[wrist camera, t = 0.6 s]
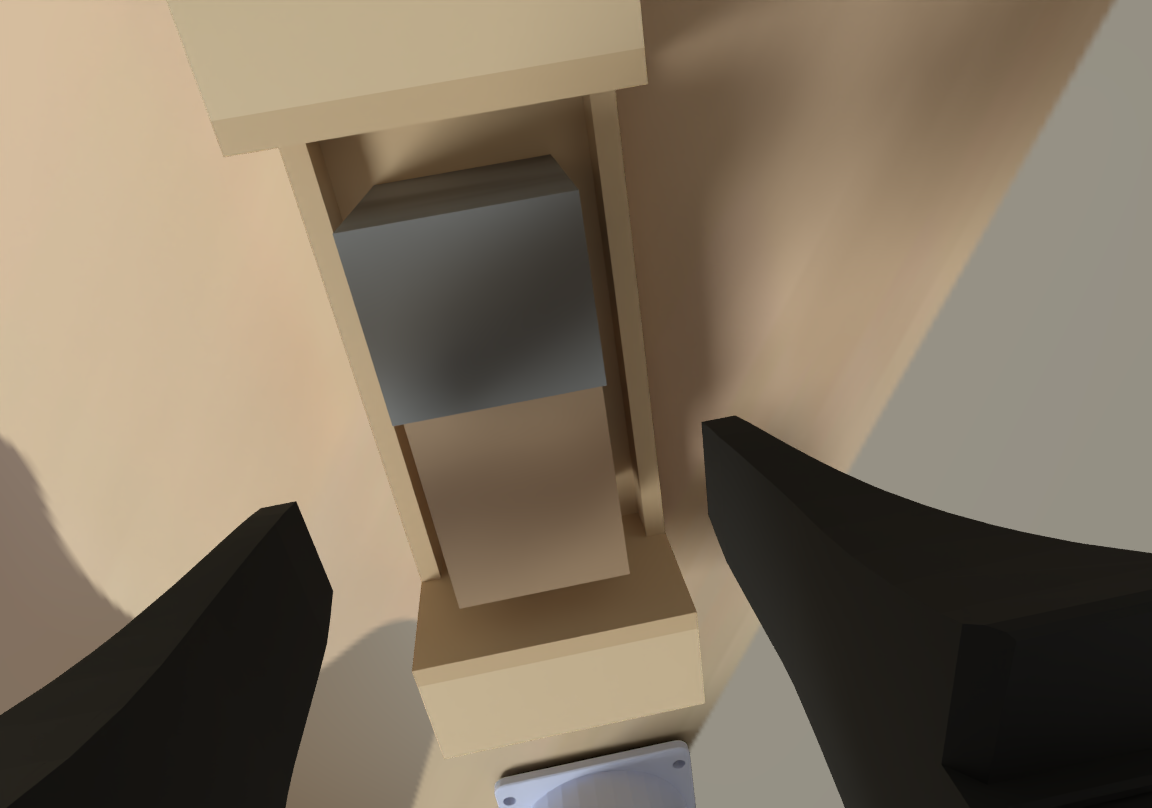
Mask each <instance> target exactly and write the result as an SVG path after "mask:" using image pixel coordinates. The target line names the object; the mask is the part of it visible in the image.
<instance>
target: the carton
mask: <svg viewBox="0 0 1152 808" xmlns="http://www.w3.org/2000/svg"><path fill="white" fill-rule="evenodd" d="M166 1H167V4H168V7H169V9H170V12H171V15H172V18H173V20H174V23H175V26H176V29H177V31H178V34H179V37H180V40H181V42H182V45H183V48H184V50H185V53H186V56H187V59H188V61H189V64H190V67H191V70H192V72H193V75H194V78H195V80H196V83H197V86H198V89H199V91H200V94H201V97H202V100H203V102H204V105H205V108H206V110H207V113H208V116H209V119H210V121H211V124H212V127H213V130H214V132H215V135H216V138H217V141H218V143H219V146H220V149H221V151H222V154H223V157H229V156H234V155H240V154H246V153H252V152H258V151H263V150H269V149H275V148H279V150H280V153H281V156H282V160H283V163H284V166H285V169H286V172H287V175H288V178H289V181H290V184H291V187H292V190H293V193H294V196H295V199H296V202H297V205H298V208H299V211H300V214H301V217H302V220H303V223H304V226H305V229H306V232H307V235H308V238H309V241H310V244H311V248H312V251H313V254H314V257H315V260H316V263H317V266H318V269H319V272H320V275H321V278H322V281H323V284H324V287H325V290H326V293H327V296H328V299H329V302H330V305H331V308H332V311H333V314H334V317H335V320H336V323H337V326H338V329H339V333H340V336H341V339H342V342H343V345H344V348H345V351H346V354H347V357H348V360H349V363H350V366H351V369H352V372H353V375H354V378H355V381H356V384H357V387H358V390H359V393H360V396H361V399H362V402H363V405H364V408H365V411H366V414H367V418H368V421H369V424H370V427H371V430H372V433H373V436H374V439H375V442H376V445H377V448H378V451H379V454H380V457H381V460H382V463H383V466H384V469H385V472H386V475H387V478H388V481H389V484H390V487H391V490H392V493H393V496H394V499H395V503H396V506H397V509H398V512H399V515H400V518H401V521H402V524H403V527H404V530H405V533H406V536H407V539H408V542H409V545H410V548H411V551H412V554H413V557H414V560H415V563H416V566H417V569H418V572H419V575H420V578H421V581H422V585H421V594H420V603H419V612H418V621H417V631H416V641H415V649H414V658H413V668H412V672H413V675H414V678H415V681H416V684H417V686H418V689H419V692H420V695H421V697H422V700H423V703H424V706H425V708H426V711H427V713H428V716H429V719H430V722H431V725H432V727H433V730H434V733H435V736H436V738H437V741H438V744H439V746H440V749H441V752H442V755H443V757H444V759H448V758H453V757H458V756H462V755H467V754H471V753H476V752H481V751H485V750H490V749H495V748H499V747H504V746H509V745H513V744H518V743H523V742H527V741H532V740H537V739H541V738H546V737H551V736H555V735H560V734H565V733H569V732H574V731H579V730H583V729H588V728H593V727H597V726H602V725H607V724H611V723H616V722H621V721H625V720H630V719H635V718H639V717H644V716H649V715H653V714H658V713H663V712H667V711H672V710H677V709H681V708H686V707H691V706H695V705H700V704H705V697H704V686H703V675H702V664H701V653H700V642H699V632H698V621H697V612H696V609H695V607H694V604H693V602H692V599H691V597H690V594H689V592H688V589H687V586H686V584H685V581H684V579H683V576H682V574H681V571H680V569H679V566H678V564H677V561H676V559H675V556H674V554H673V551H672V549H671V546H670V544H669V541H668V539H667V536H666V534H665V526H664V517H663V508H662V499H661V491H660V482H659V473H658V464H657V455H656V446H655V437H654V428H653V419H652V411H651V402H650V393H649V384H648V375H647V366H646V357H645V348H644V340H643V331H642V322H641V313H640V304H639V295H638V286H637V277H636V269H635V260H634V251H633V242H632V233H631V224H630V215H629V206H628V197H627V189H626V180H625V171H624V162H623V153H622V144H621V135H620V126H619V118H618V109H617V100H616V91H615V90H618V89H623V88H629V87H635V86H641V85H647V84H648V80H647V69H646V59H645V48H644V37H643V26H642V15H641V5H640V0H166ZM549 154H551V155H552V156H553V158H554V159H555V160H556V162H557V163H558V164H559V165H560V167H561V168H562V169H563V170H564V172H565V173H566V174H567V176H568V177H569V178H570V179H571V181H572V182H573V183H574V184H575V186H576V187H577V188H578V190H579V195H580V202H581V209H582V216H583V223H584V230H585V237H586V244H587V251H588V258H589V265H590V271H591V278H592V285H593V292H594V299H595V306H596V313H597V320H598V327H599V334H600V341H601V348H602V355H603V362H604V369H605V376H606V383H607V385H606V386H602V388H603V394H604V401H605V408H606V415H607V422H608V428H609V435H610V442H611V449H612V456H613V462H614V469H615V476H616V483H617V490H618V496H619V503H620V510H621V517H622V524H623V530H624V537H625V544H626V551H627V558H628V564H629V571H630V574H627V575H622V576H617V577H612V578H608V579H603V580H598V581H593V582H588V583H583V584H578V585H573V586H569V587H564V588H559V589H554V590H549V591H544V592H539V593H534V594H529V595H525V596H520V597H515V598H510V599H505V600H500V601H495V602H490V603H485V604H481V605H476V606H471V607H466V608H461V609H459V605H458V602H457V599H456V595H455V592H454V589H453V586H452V582H451V579H450V576H449V572H448V569H447V566H446V563H445V559H444V556H443V553H442V549H441V546H440V543H439V539H438V536H437V533H436V530H435V526H434V523H433V520H432V516H431V513H430V510H429V507H428V503H427V500H426V497H425V493H424V490H423V487H422V483H421V480H420V477H419V474H418V470H417V467H416V464H415V460H414V457H413V454H412V451H411V447H410V444H409V441H408V437H407V434H406V431H405V427H404V424H403V425H398V426H392V423H391V420H390V417H389V413H388V410H387V407H386V404H385V401H384V397H383V394H382V391H381V388H380V385H379V381H378V378H377V375H376V372H375V369H374V365H373V362H372V359H371V356H370V353H369V349H368V346H367V343H366V340H365V337H364V333H363V330H362V327H361V324H360V321H359V317H358V314H357V311H356V308H355V305H354V301H353V298H352V295H351V292H350V289H349V285H348V282H347V279H346V276H345V273H344V269H343V266H342V263H341V260H340V257H339V253H338V250H337V247H336V244H335V241H334V237H333V233H334V231H335V230H336V229H337V228H338V227H339V226H340V224H341V223H342V222H343V221H344V220H345V219H346V217H347V216H348V215H349V214H350V213H351V211H352V210H353V209H354V208H355V207H356V206H357V204H358V203H359V202H360V201H361V200H362V199H363V197H364V196H365V195H366V194H367V193H368V192H369V190H370V189H371V188H372V187H373V186H374V185H378V184H384V183H390V182H395V181H401V180H407V179H412V178H418V177H424V176H429V175H435V174H441V173H447V172H452V171H458V170H464V169H469V168H475V167H481V166H486V165H492V164H498V163H503V162H509V161H515V160H520V159H526V158H532V157H538V156H543V155H549Z"/></svg>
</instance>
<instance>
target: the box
mask: <svg viewBox="0 0 1152 808" xmlns="http://www.w3.org/2000/svg"><path fill="white" fill-rule="evenodd" d="M333 237H334V241H335V244H336V247H337V250H338V253H339V257H340V260H341V263H342V266H343V269H344V273H345V276H346V279H347V282H348V285H349V289H350V292H351V295H352V298H353V301H354V305H355V308H356V311H357V314H358V317H359V321H360V324H361V327H362V330H363V333H364V337H365V340H366V343H367V346H368V349H369V353H370V356H371V359H372V362H373V365H374V369H375V372H376V375H377V378H378V381H379V385H380V388H381V391H382V394H383V397H384V401H385V404H386V407H387V410H388V413H389V417H390V420H391V423H392V426H398V425H403V424H404V427H405V431H406V434H407V437H408V441H409V444H410V447H411V451H412V454H413V457H414V460H415V464H416V467H417V470H418V474H419V477H420V480H421V483H422V487H423V490H424V493H425V497H426V500H427V503H428V507H429V510H430V513H431V516H432V520H433V523H434V526H435V530H436V533H437V536H438V539H439V543H440V546H441V549H442V553H443V556H444V559H445V563H446V566H447V569H448V572H449V576H450V579H451V582H452V586H453V589H454V592H455V595H456V599H457V602H458V605H459V609H461V608H466V607H471V606H476V605H481V604H485V603H490V602H495V601H500V600H505V599H510V598H515V597H520V596H525V595H529V594H534V593H539V592H544V591H549V590H554V589H559V588H564V587H569V586H573V585H578V584H583V583H588V582H593V581H598V580H603V579H608V578H612V577H617V576H622V575H627V574H630V571H629V564H628V558H627V551H626V544H625V537H624V530H623V524H622V517H621V510H620V503H619V496H618V490H617V483H616V476H615V469H614V462H613V456H612V449H611V442H610V435H609V428H608V422H607V415H606V408H605V401H604V394H603V388H602V386H606V385H607V383H606V376H605V369H604V362H603V355H602V348H601V341H600V334H599V327H598V320H597V313H596V306H595V299H594V292H593V285H592V278H591V271H590V265H589V258H588V251H587V244H586V237H585V230H584V223H583V216H582V209H581V202H580V195H579V190H578V188H577V187H576V186H575V184H574V183H573V182H572V181H571V179H570V178H569V177H568V176H567V174H566V173H565V172H564V170H563V169H562V168H561V167H560V165H559V164H558V163H557V162H556V160H555V159H554V158H553V156H552V155H551V154H549V155H543V156H538V157H532V158H526V159H520V160H515V161H509V162H503V163H498V164H492V165H486V166H481V167H475V168H469V169H464V170H458V171H452V172H447V173H441V174H435V175H429V176H424V177H418V178H412V179H407V180H401V181H395V182H390V183H384V184H378V185H374V186H373V187H372V188H371V189H370V190H369V192H368V193H367V194H366V195H365V196H364V197H363V199H362V200H361V201H360V202H359V203H358V204H357V206H356V207H355V208H354V209H353V210H352V211H351V213H350V214H349V215H348V216H347V217H346V219H345V220H344V221H343V222H342V223H341V224H340V226H339V227H338V228H337V229H336V230H335V231H334V233H333Z"/></svg>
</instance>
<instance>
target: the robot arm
mask: <svg viewBox="0 0 1152 808" xmlns="http://www.w3.org/2000/svg"><path fill="white" fill-rule="evenodd" d="M702 434H703V448H704V461H705V475H706V488H707V501H708V515H709V518H710V520H711V523H712V526H713V528H714V531H715V534H716V536H717V539H718V541H719V544H720V546H721V549H722V551H723V554H724V556H725V559H726V561H727V563H728V565H729V567H730V569H731V571H732V572H733V574H734V576H735V578H736V580H737V582H738V583H739V585H740V587H741V589H742V591H743V592H744V594H745V596H746V598H747V600H748V601H749V603H750V605H751V607H752V609H753V610H754V612H755V614H756V616H757V618H758V619H759V621H760V623H761V625H762V627H763V628H764V630H765V632H766V634H767V635H768V637H769V639H770V641H771V643H772V644H773V646H774V648H775V650H776V652H777V653H778V655H779V657H780V659H781V660H782V662H783V664H784V666H785V668H786V670H787V672H788V674H789V676H790V678H791V680H792V682H793V684H794V686H795V689H796V691H797V693H798V696H799V698H800V700H801V703H802V705H803V707H804V710H805V712H806V714H807V717H808V719H809V721H810V724H811V726H812V728H813V730H814V733H815V735H816V737H817V740H818V743H819V745H820V747H821V750H822V752H823V755H824V757H825V760H826V762H827V764H828V767H829V769H830V772H831V774H832V777H833V779H834V782H835V784H836V787H837V789H838V792H839V794H840V796H841V799H842V801H843V804H844V807H845V808H1152V553H1146V552H1139V551H1132V550H1125V549H1117V548H1110V547H1103V546H1096V545H1089V544H1082V543H1076V542H1070V541H1066V540H1060V539H1055V538H1050V537H1045V536H1040V535H1035V534H1030V533H1025V532H1020V531H1017V530H1012V529H1008V528H1003V527H999V526H995V525H991V524H987V523H984V522H980V521H976V520H973V519H969V518H965V517H962V516H958V515H955V514H951V513H947V512H945V511H941V510H938V509H935V508H932V507H929V506H925V505H923V504H920V503H917V502H914V501H911V500H909V499H906V498H903V497H900V496H898V495H895V494H892V493H889V492H886V491H884V490H882V489H879V488H877V487H874V486H872V485H870V484H867V483H865V482H863V481H861V480H858V479H856V478H854V477H852V476H849V475H847V474H845V473H843V472H841V471H838V470H836V469H834V468H832V467H830V466H828V465H826V464H824V463H822V462H820V461H818V460H816V459H814V458H812V457H810V456H808V455H807V454H805V453H803V452H801V451H799V450H797V449H795V448H793V447H792V446H790V445H788V444H786V443H784V442H783V441H781V440H779V439H777V438H775V437H774V436H772V435H770V434H768V433H767V432H765V431H763V430H761V429H759V428H758V427H756V426H754V425H752V424H751V423H749V422H747V421H745V420H743V419H741V418H739V417H737V416H730V417H725V418H720V419H715V420H710V421H705V422H702ZM332 596H333V590H332V587H331V585H330V582H329V580H328V578H327V575H326V573H325V570H324V568H323V565H322V563H321V561H320V558H319V556H318V553H317V551H316V548H315V546H314V544H313V541H312V539H311V536H310V534H309V531H308V529H307V527H306V524H305V522H304V519H303V517H302V514H301V512H300V510H299V507H298V505H297V502H290V503H285V504H280V505H275V506H270V507H265V508H261V509H259V510H258V511H257V512H255V513H254V514H253V515H251V516H250V517H249V518H248V519H247V520H245V521H244V522H243V523H242V524H241V525H240V526H238V527H237V528H236V529H235V530H234V531H233V532H232V533H231V534H229V535H228V536H227V537H226V538H225V539H224V540H223V541H222V542H221V543H220V544H218V545H217V546H216V547H215V548H214V549H213V550H212V551H211V552H210V553H209V554H208V555H206V556H205V557H204V558H203V559H202V560H201V561H200V562H199V563H198V564H197V565H195V566H194V567H193V568H192V569H191V570H190V571H189V572H188V573H187V574H186V575H184V576H183V577H182V578H181V579H180V580H179V581H178V582H177V583H176V584H174V585H173V586H172V587H171V588H170V589H169V590H168V591H166V592H165V593H164V594H163V595H162V596H160V597H159V598H158V599H157V600H156V601H155V602H153V603H152V604H151V605H150V606H149V607H147V608H146V609H145V610H144V611H143V612H142V613H140V614H139V615H138V616H137V617H136V618H134V619H133V620H132V621H131V622H130V623H129V624H128V625H126V626H125V627H124V628H123V629H121V630H120V631H119V632H118V633H116V634H115V635H114V636H113V637H111V638H110V639H109V640H108V641H106V642H105V643H104V644H102V645H101V646H100V647H99V648H97V649H96V650H95V651H93V652H92V653H91V654H89V655H88V656H86V657H85V658H84V659H83V660H81V661H80V662H78V663H77V664H75V665H74V666H73V667H72V668H70V669H69V670H67V671H66V672H64V673H63V674H62V675H60V676H59V677H58V678H56V679H55V680H53V681H52V682H50V683H49V684H47V685H46V686H45V687H43V688H42V689H40V690H39V691H37V692H36V693H34V694H33V695H31V696H29V697H28V698H26V699H25V700H23V701H21V702H20V703H18V704H17V705H15V706H14V707H12V708H11V709H9V710H8V711H6V712H4V713H3V714H2V715H0V808H285V807H286V801H287V795H288V790H289V786H290V782H291V777H292V773H293V768H294V764H295V761H296V757H297V753H298V750H299V746H300V742H301V738H302V735H303V731H304V728H305V724H306V720H307V717H308V713H309V709H310V706H311V702H312V698H313V694H314V691H315V687H316V684H317V680H318V676H319V672H320V668H321V665H322V661H323V657H324V653H325V649H326V645H327V639H328V632H329V624H330V616H331V606H332ZM495 797H496V800H497V803H498V806H499V808H696V804H695V795H694V787H693V778H692V769H691V760H690V752H689V749H688V746H687V744H686V743H685V742H684V741H680V740H675V741H670V742H665V743H661V744H656V745H652V746H647V747H642V748H638V749H633V750H628V751H624V752H619V753H615V754H610V755H605V756H601V757H596V758H591V759H587V760H582V761H578V762H573V763H568V764H564V765H559V766H555V767H550V768H545V769H541V770H536V771H531V772H527V773H522V774H518V775H513V776H508V777H504V778H501V779H500V780H498V781H497V782H496V784H495Z"/></svg>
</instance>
